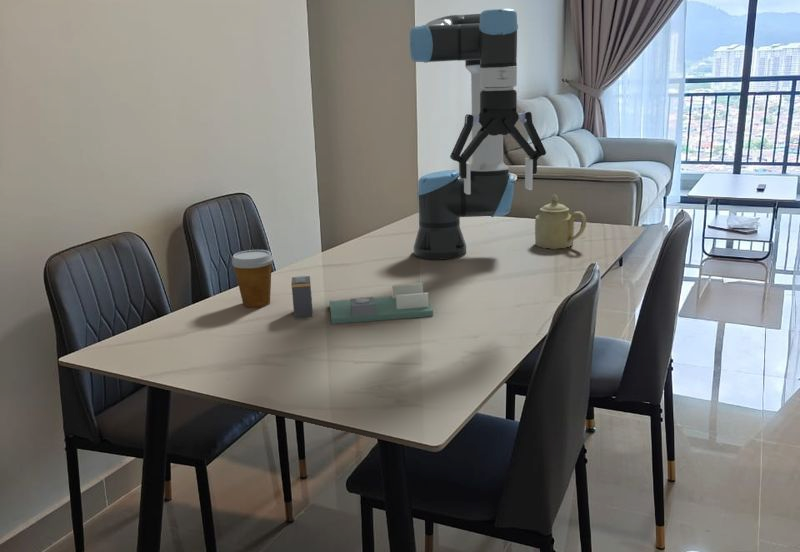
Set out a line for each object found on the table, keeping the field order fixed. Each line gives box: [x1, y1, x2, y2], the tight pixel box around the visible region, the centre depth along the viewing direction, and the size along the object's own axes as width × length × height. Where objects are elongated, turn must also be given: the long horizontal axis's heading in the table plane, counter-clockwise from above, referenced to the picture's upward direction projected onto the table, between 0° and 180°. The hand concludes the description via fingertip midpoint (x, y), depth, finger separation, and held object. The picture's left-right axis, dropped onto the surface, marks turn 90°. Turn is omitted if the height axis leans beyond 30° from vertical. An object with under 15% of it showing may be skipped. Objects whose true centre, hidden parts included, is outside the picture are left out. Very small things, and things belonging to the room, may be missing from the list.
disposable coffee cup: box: [231, 249, 274, 309], centre depth 166 cm, size 10×10×12 cm
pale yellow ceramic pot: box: [534, 194, 587, 250], centre depth 208 cm, size 15×11×15 cm
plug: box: [290, 275, 314, 319], centre depth 158 cm, size 5×4×9 cm
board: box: [329, 282, 434, 325], centre depth 159 cm, size 12×22×4 cm, turn 97°
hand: (498, 191), depth 153 cm, fingers open, 13 cm apart
